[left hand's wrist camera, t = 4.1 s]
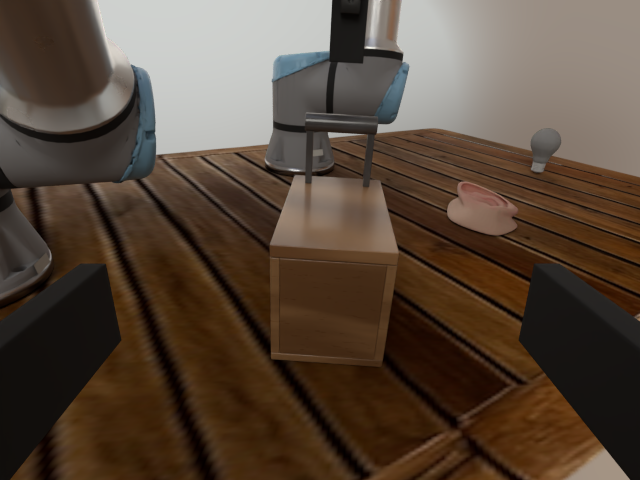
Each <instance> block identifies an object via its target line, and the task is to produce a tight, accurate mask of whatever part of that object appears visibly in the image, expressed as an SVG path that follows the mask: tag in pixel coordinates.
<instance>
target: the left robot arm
mask: <svg viewBox="0 0 640 480" xmlns="http://www.w3.org/2000/svg"><path fill="white" fill-rule="evenodd" d="M155 158H156V137H155V109H154V99H153V92H152V86H151V81H150V77H149V75H148V73H147V72H146V71H145V70H144V69H142V68H138V67H135V66H133V65H130V63H129V61H128V58H127V57H126V55H125V54H124V53H123V51H122V50H121V49H120V48H119V47H118V46H117V45H116V44H115V43H114V42H112V41H111V40H110V39H108V38H107V37H106V33H105V29H104V25H103V21H102V16H101V12H100V8H99V4H98V0H0V307H2V306H5V305H7V304H9V303H12V302H14V301H16V300H18V299H20V298H22V297H23V296H25V295H27V294H29V293H30V292H32V291H33V290H35V289H36V288H37V287H39V286H40V285H41V284H42V283H44V282H45V281H46V280H47V279H48V277H49V276H50V275H51V273H52V271H53V268H54V262H53V259H52V256H51V252H50V250H49V248H48V246H47V245H46V243H45V242H44V240H43V239H42V238H41V237H40V235H39V234H38V233H37V232H36V230H35V229H34V228H33V227H32V225H31V224H30V223H29V222H28V220H27V219H26V218H25V216H24V215H23V214H22V213H21V211H20V210H19V209H18V208H17V206H16V204H15V201H14V198H13V195H12V192H11V189H14V188H27V187H41V186H55V185H70V184H84V183H98V182H113V183H121V182H123V181H126V180H134V179H142V178H145V177H147V176H148V175H149V174H150V173H151V172H152V171H153V168H154V165H155ZM120 341H121V336H120V331H119V326H118V322H117V317H116V312H115V307H114V302H113V297H112V292H111V287H110V282H109V278H108V273H107V268H106V264H80V265H78V266H77V267H75V268H74V269H73V270H71V271H70V272H68V273H67V274H66V275H64V276H63V277H62V278H60V279H59V280H57V281H56V282H55V283H53V284H52V285H50V286H49V287H48V288H46V289H45V290H43V291H42V292H41V293H39V294H38V295H36V296H35V297H34V298H32V299H31V300H29V301H28V302H27V303H25V304H24V305H23V306H21V307H20V308H18V309H17V310H16V311H14V312H13V313H11V314H10V315H9V316H7V317H6V318H4V319H3V320H2V321H0V480H10V479H11V478H12V476H13V475H14V474H15V473H16V471H17V470H18V469H19V468H20V466H21V465H22V464H23V463H24V461H25V460H26V459H27V458H28V456H29V455H30V454H31V453H32V451H33V450H34V449H35V448H36V446H37V445H38V444H39V443H40V441H41V440H42V439H43V438H44V436H45V435H46V434H47V433H48V431H49V430H50V429H51V428H52V426H53V425H54V424H55V423H56V421H57V420H58V419H59V418H60V416H61V415H62V414H63V413H64V411H65V410H66V409H67V408H68V406H69V405H70V404H71V403H72V401H73V400H74V399H75V398H76V396H77V395H78V394H79V393H80V391H81V390H82V389H83V388H84V386H85V385H86V384H87V383H88V381H89V380H90V379H91V378H92V376H93V375H94V374H95V373H96V371H97V370H98V369H99V368H100V366H101V365H102V364H103V363H104V361H105V360H106V359H107V358H108V356H109V355H110V354H111V353H112V351H113V350H114V349H115V348H116V346H117V345H118V344H119V343H120ZM519 341H520V343H521V344H522V345H523V346H524V348H525V349H526V350H527V351H528V353H529V354H530V355H531V356H532V358H533V359H534V360H535V361H536V363H537V364H538V365H539V366H540V368H541V369H542V370H543V371H544V373H545V374H546V375H547V376H548V378H549V379H550V380H551V381H552V383H553V384H554V385H555V386H556V388H557V389H558V390H559V391H560V393H561V394H562V395H563V396H564V398H565V399H566V400H567V401H568V403H569V404H570V405H571V406H572V408H573V409H574V410H575V411H576V413H577V414H578V415H579V416H580V418H581V419H582V420H583V421H584V423H585V424H586V425H587V426H588V428H589V429H590V430H591V431H592V433H593V434H594V435H595V436H596V438H597V439H598V440H599V441H600V443H601V444H602V445H603V446H604V448H605V449H606V450H607V451H608V453H609V454H610V455H611V456H612V458H613V459H614V460H615V461H616V463H617V464H618V465H619V466H620V467H621V469H622V470H623V471H624V473H625V474H626V475H627V476H628V478H629V479H630V480H640V321H638V320H637V319H636V318H634V317H633V316H631V315H630V314H629V313H627V312H626V311H624V310H623V309H622V308H620V307H619V306H617V305H616V304H615V303H613V302H612V301H611V300H609V299H608V298H606V297H605V296H604V295H602V294H601V293H599V292H598V291H597V290H595V289H594V288H592V287H591V286H590V285H588V284H587V283H585V282H584V281H583V280H581V279H580V278H578V277H577V276H576V275H574V274H573V273H572V272H570V271H569V270H567V269H566V268H565V267H563V266H562V265H560V264H534V268H533V273H532V278H531V282H530V287H529V292H528V297H527V302H526V307H525V312H524V317H523V322H522V326H521V331H520V336H519Z"/></svg>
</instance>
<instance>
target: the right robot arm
mask: <svg viewBox="0 0 640 480" xmlns="http://www.w3.org/2000/svg"><path fill="white" fill-rule="evenodd" d="M401 1H402V0H332V17H331V36H330V51H323V52H311V53H300V54H289V55H281V56H278V57H277V58H276V59H275V61H274V64H273V79H272V82H273V133H272V136H271V139H270V143H269V146H268V149H267V152H266V156H265V167H266V168H267V169H268V170H270V171H272V172H275V173H278V174H282V175H288V176H295V175H304V176H305V168H306V136H307V131H305V115H306V113H324V114H341V115H359V116H377V117H378V124H390V123H392V122H393V121H394V120H395V119H396V117H397V114H398V110H399V107H400V103H401V99H402V95H403V91H404V87H405V83H406V79H407V75H408V71H409V64H407V63H406V62H404V63H402V60H403V51H402V50H401V49H400V47H399V46H398V44H397V35H398V27H399V18H400V10H401ZM333 169H334V157H333V153H332V149H331V145H330V141H329V137H328V132H318V131H314V138H313V164H312V176H317V175H323V174H326V173H329V172H331V171H332V170H333Z"/></svg>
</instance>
